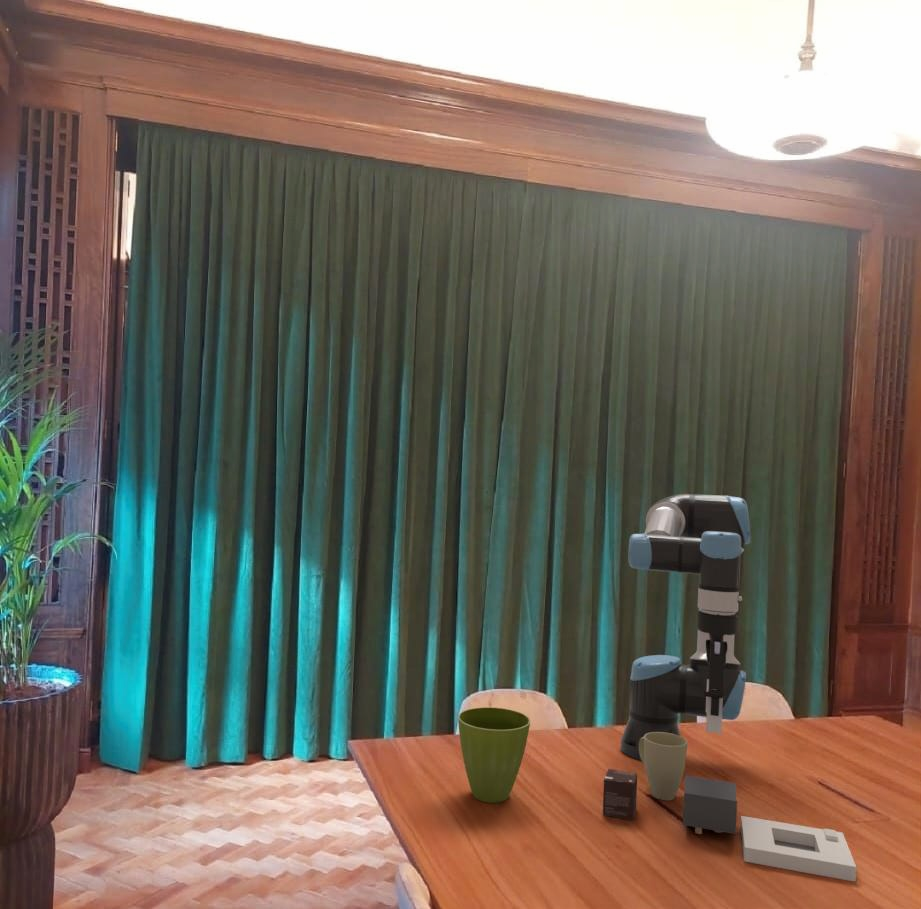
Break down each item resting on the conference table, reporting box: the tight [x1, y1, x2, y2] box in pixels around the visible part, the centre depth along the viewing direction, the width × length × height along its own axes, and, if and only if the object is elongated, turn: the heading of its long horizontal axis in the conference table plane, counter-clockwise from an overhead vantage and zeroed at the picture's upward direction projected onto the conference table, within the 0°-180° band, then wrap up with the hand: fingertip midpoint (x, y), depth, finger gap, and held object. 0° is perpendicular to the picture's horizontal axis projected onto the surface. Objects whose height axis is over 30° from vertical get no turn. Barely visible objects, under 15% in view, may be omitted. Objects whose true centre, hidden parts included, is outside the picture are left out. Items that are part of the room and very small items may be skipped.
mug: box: [639, 732, 688, 801], centre depth 170 cm, size 11×10×12 cm
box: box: [602, 768, 638, 821], centre depth 159 cm, size 6×6×7 cm
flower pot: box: [457, 706, 531, 804], centre depth 164 cm, size 15×15×16 cm
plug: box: [682, 774, 738, 835], centre depth 153 cm, size 10×10×8 cm
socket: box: [740, 815, 857, 882], centre depth 145 cm, size 18×14×3 cm
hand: (713, 722), depth 153 cm, fingers open, 13 cm apart
